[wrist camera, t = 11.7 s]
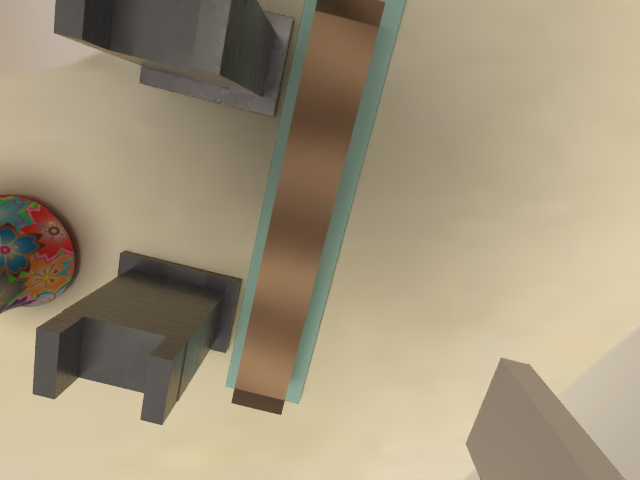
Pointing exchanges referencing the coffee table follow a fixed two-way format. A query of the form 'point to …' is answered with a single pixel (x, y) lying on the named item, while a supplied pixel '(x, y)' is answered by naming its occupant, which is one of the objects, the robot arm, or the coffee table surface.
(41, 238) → the mug
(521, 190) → the coffee table surface
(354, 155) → the mat
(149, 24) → the post
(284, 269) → the rail
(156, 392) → the post
